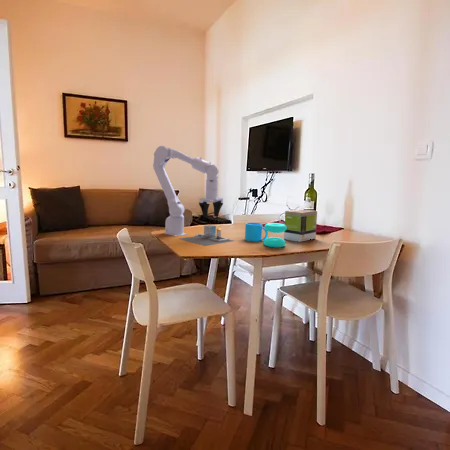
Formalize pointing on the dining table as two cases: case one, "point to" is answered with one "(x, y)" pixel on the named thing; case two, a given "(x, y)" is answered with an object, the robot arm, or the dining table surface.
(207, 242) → the mat
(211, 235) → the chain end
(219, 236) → the pin
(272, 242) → the donuts
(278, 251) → the dining table surface
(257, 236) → the mug
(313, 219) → the tea box
